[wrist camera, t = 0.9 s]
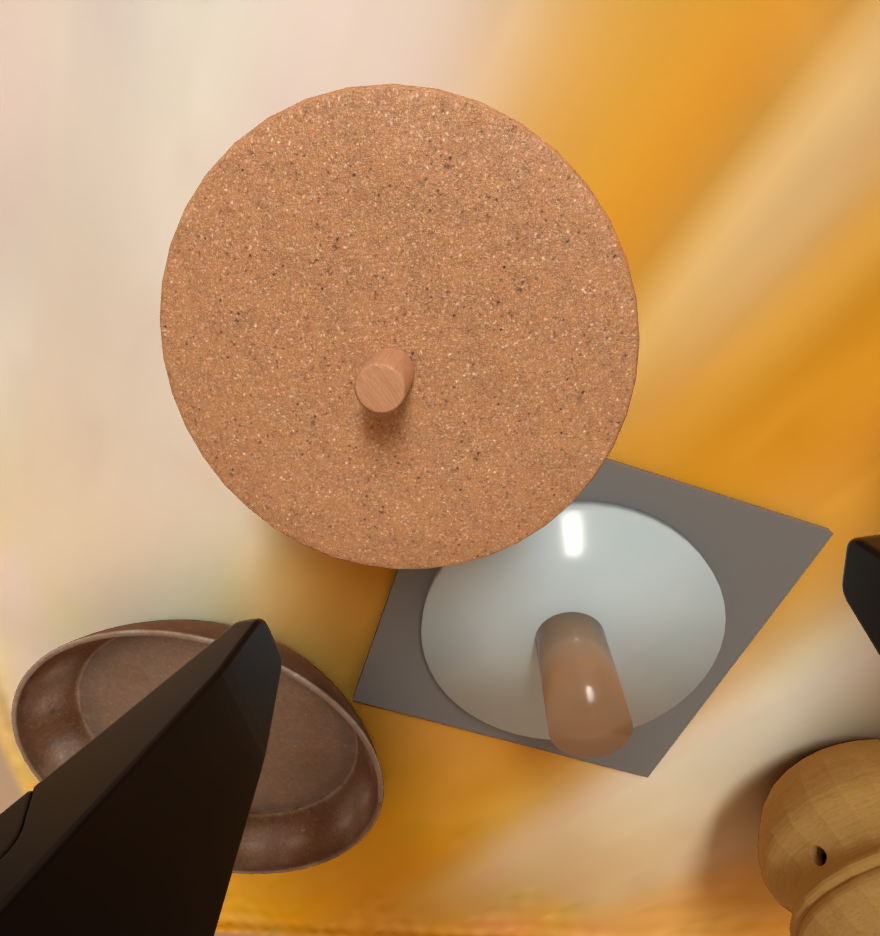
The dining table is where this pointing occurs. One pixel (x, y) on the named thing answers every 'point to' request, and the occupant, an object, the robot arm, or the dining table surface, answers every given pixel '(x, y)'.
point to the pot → (826, 841)
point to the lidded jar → (399, 326)
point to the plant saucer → (288, 752)
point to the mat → (692, 514)
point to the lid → (576, 628)
